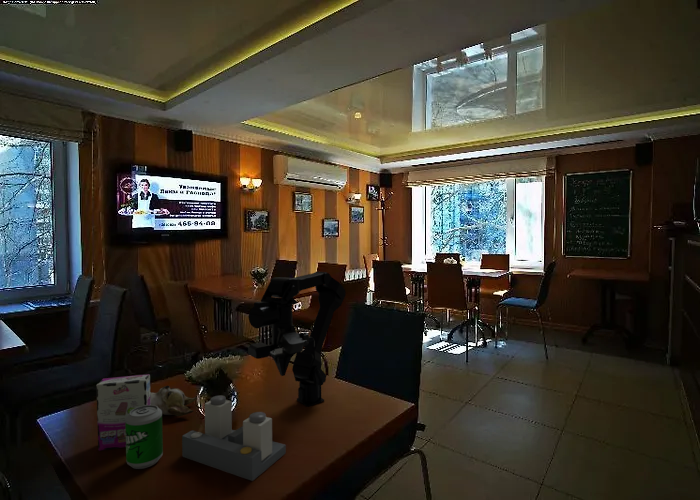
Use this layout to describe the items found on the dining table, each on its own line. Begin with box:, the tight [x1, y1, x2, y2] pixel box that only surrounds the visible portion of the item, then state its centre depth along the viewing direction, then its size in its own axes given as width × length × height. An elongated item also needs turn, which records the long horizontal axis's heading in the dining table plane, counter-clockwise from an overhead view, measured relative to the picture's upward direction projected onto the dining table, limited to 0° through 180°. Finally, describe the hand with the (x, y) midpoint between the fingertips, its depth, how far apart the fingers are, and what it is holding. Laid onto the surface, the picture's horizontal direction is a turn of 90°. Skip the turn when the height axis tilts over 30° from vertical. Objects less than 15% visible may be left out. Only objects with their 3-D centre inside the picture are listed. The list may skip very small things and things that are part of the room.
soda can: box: [125, 405, 164, 470], centre depth 91 cm, size 8×8×12 cm
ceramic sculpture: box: [150, 385, 198, 417], centre depth 115 cm, size 11×9×15 cm
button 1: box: [204, 395, 233, 439], centre depth 99 cm, size 4×5×9 cm
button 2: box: [242, 411, 273, 460], centre depth 89 cm, size 4×5×9 cm
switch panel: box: [181, 425, 287, 482], centre depth 93 cm, size 12×21×5 cm, turn 64°
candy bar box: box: [95, 373, 151, 452], centre depth 99 cm, size 11×5×16 cm, turn 105°
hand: (282, 375), depth 113 cm, fingers closed
